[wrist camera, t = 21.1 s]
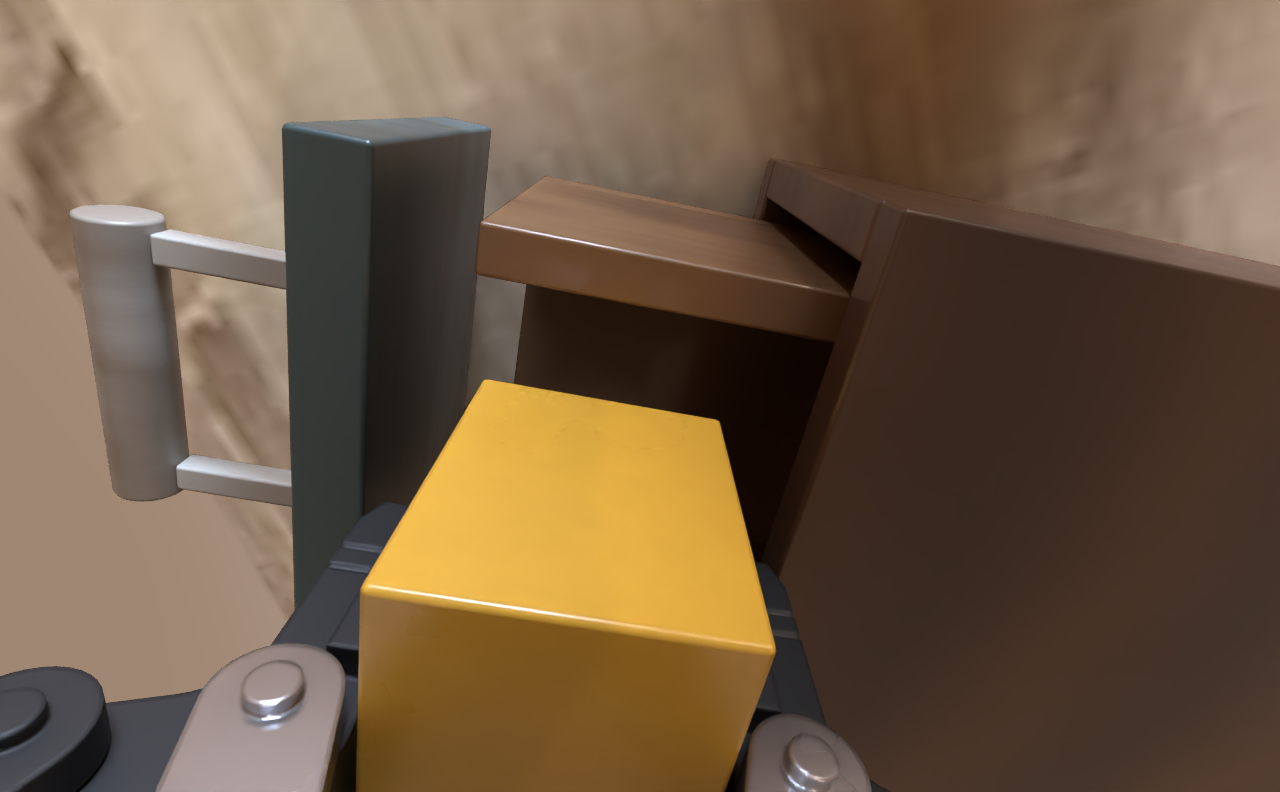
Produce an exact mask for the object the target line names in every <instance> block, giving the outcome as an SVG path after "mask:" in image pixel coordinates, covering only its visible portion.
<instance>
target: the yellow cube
mask: <svg viewBox="0 0 1280 792" xmlns="http://www.w3.org/2000/svg"><path fill="white" fill-rule="evenodd" d="M775 654H776V647H775V642H774V638H773V634H772V630H771V626H770V622H769V618H768V614H767V610H766V606H765V602H764V598H763V594H762V590H761V586H760V582H759V578H758V574H757V570H756V566H755V562H754V558H753V554H752V550H751V546H750V542H749V538H748V534H747V530H746V526H745V522H744V518H743V514H742V510H741V506H740V502H739V498H738V494H737V490H736V486H735V482H734V478H733V474H732V470H731V466H730V462H729V458H728V454H727V450H726V446H725V442H724V438H723V434H722V430H721V426H720V422H719V421H717V420H714V419H709V418H703V417H697V416H692V415H686V414H680V413H675V412H669V411H663V410H658V409H652V408H647V407H641V406H635V405H630V404H624V403H618V402H613V401H607V400H601V399H596V398H590V397H584V396H579V395H573V394H567V393H562V392H556V391H550V390H545V389H539V388H533V387H528V386H522V385H516V384H511V383H505V382H499V381H494V380H483V382H482V384H481V385H480V387H479V389H478V390H477V392H476V394H475V396H474V397H473V399H472V401H471V402H470V404H469V406H468V407H467V409H466V411H465V412H464V414H463V416H462V417H461V419H460V421H459V423H458V424H457V426H456V428H455V429H454V431H453V433H452V434H451V436H450V438H449V439H448V441H447V443H446V445H445V446H444V448H443V450H442V451H441V453H440V455H439V456H438V458H437V460H436V461H435V463H434V465H433V466H432V468H431V470H430V472H429V473H428V475H427V477H426V478H425V480H424V482H423V483H422V485H421V487H420V488H419V490H418V492H417V493H416V495H415V497H414V499H413V500H412V502H411V504H410V505H409V507H408V509H407V510H406V512H405V514H404V515H403V517H402V519H401V521H400V522H399V524H398V526H397V527H396V529H395V531H394V532H393V534H392V536H391V537H390V539H389V541H388V542H387V544H386V546H385V548H384V549H383V551H382V553H381V554H380V556H379V558H378V559H377V561H376V563H375V564H374V566H373V568H372V569H371V571H370V573H369V575H368V576H367V578H366V580H365V581H364V583H363V585H362V586H361V588H360V622H359V668H358V714H357V760H356V792H725V789H726V787H727V784H728V781H729V779H730V776H731V773H732V770H733V768H734V765H735V762H736V760H737V757H738V754H739V752H740V749H741V746H742V743H743V741H744V738H745V735H746V733H747V730H748V727H749V724H750V722H751V719H752V716H753V714H754V711H755V708H756V706H757V703H758V700H759V697H760V695H761V692H762V689H763V687H764V684H765V681H766V678H767V676H768V673H769V670H770V668H771V665H772V662H773V660H774V657H775Z"/></svg>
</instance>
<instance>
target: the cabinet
mask: <svg viewBox="0 0 1280 792" xmlns="http://www.w3.org/2000/svg"><path fill="white" fill-rule="evenodd" d="M753 219H757V220H762V221H767V222H772V223H777V224H781V225H786V226H791V227H796V228H801V229H806V230H811V231H815V232H818V233H819V234H821V235H822V236H824V237H825V238H827V239H828V240H829V241H831V242H832V243H834V244H835V245H837V246H838V247H840V248H841V249H842V250H844V251H845V252H847V253H848V254H850V255H851V256H853V257H854V258H855V259H857V260H858V261H860V262H861V263H862V264H861V267H860V270H859V273H858V276H857V279H856V282H855V285H854V288H853V291H852V293H851V296H850V299H849V302H848V305H847V308H846V311H845V314H844V317H843V320H842V323H841V326H840V329H839V332H838V335H837V338H836V341H835V344H834V347H833V350H832V353H831V355H830V358H829V361H828V364H827V367H826V370H825V373H824V376H823V379H822V382H821V385H820V388H819V391H818V394H817V397H816V400H815V403H814V406H813V409H812V412H811V415H810V417H809V420H808V423H807V426H806V429H805V432H804V435H803V438H802V441H801V444H800V447H799V450H798V453H797V456H796V459H795V462H794V465H793V468H792V471H791V474H790V477H789V480H788V482H787V485H786V488H785V491H784V494H783V497H782V500H781V503H780V506H779V509H778V512H777V515H776V518H775V521H774V524H773V527H772V530H771V533H770V536H769V539H768V542H767V544H766V547H765V550H764V553H763V556H762V559H761V562H760V563H766V564H767V565H768V566H769V567H770V569H771V570H772V571H773V572H774V574H775V575H776V576H777V577H778V579H779V580H780V581H781V582H782V584H783V585H784V586H785V587H786V591H787V594H788V597H789V601H790V604H791V607H792V611H793V618H795V621H796V624H797V627H798V631H799V634H800V635H799V640H801V641H802V644H803V647H804V651H805V654H806V657H807V661H808V664H809V667H810V670H811V674H812V677H813V680H814V684H815V687H816V690H817V694H818V697H819V700H820V704H821V707H822V710H823V714H824V717H825V720H826V724H827V726H828V727H829V728H831V729H832V730H834V731H835V732H836V733H838V734H839V735H840V736H841V737H842V738H843V739H845V740H846V741H847V743H848V744H849V745H850V746H851V747H852V748H853V749H854V751H855V752H856V753H857V755H858V756H859V758H860V759H861V761H862V763H863V765H864V766H865V768H866V771H867V774H868V776H869V779H870V780H872V781H873V782H875V783H876V784H878V785H879V786H881V787H883V788H885V789H887V790H889V791H890V792H1280V266H1276V265H1271V264H1267V263H1262V262H1257V261H1252V260H1248V259H1243V258H1238V257H1234V256H1229V255H1224V254H1220V253H1215V252H1210V251H1206V250H1201V249H1196V248H1192V247H1187V246H1182V245H1178V244H1173V243H1168V242H1164V241H1159V240H1154V239H1150V238H1145V237H1140V236H1136V235H1131V234H1126V233H1122V232H1117V231H1112V230H1108V229H1103V228H1098V227H1094V226H1089V225H1084V224H1080V223H1075V222H1070V221H1066V220H1061V219H1056V218H1052V217H1047V216H1042V215H1038V214H1033V213H1028V212H1024V211H1019V210H1014V209H1010V208H1005V207H1000V206H995V205H991V204H986V203H981V202H977V201H972V200H967V199H963V198H958V197H953V196H949V195H944V194H939V193H935V192H930V191H925V190H921V189H916V188H911V187H907V186H902V185H897V184H893V183H888V182H883V181H879V180H874V179H869V178H865V177H860V176H855V175H851V174H846V173H841V172H837V171H832V170H827V169H823V168H818V167H813V166H809V165H804V164H799V163H795V162H790V161H785V160H781V159H776V158H770V159H769V160H768V163H767V167H766V171H765V175H764V179H763V182H762V186H761V190H760V194H759V198H758V201H757V205H756V209H755V213H754V217H753Z"/></svg>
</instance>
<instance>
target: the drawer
mask: <svg viewBox="0 0 1280 792" xmlns="http://www.w3.org/2000/svg"><path fill="white" fill-rule="evenodd" d="M490 138H491V129H490V128H489V127H488V126H484V125H480V124H475V123H470V122H465V121H461V120H456V119H451V118H446V117H431V118H403V119H375V120H347V121H319V122H291V123H286V124H284V125H283V128H282V144H283V182H284V220H285V251H281V250H276V249H271V248H265V247H260V246H255V245H250V244H244V243H239V242H234V241H229V240H224V239H218V238H213V237H208V236H203V235H197V234H192V233H187V232H182V231H176V230H167V228H166V219H165V218H164V216H163V215H162V214H160V213H158V212H155V211H152V210H148V209H144V208H139V207H132V206H123V205H88V206H82V207H77V208H74V209H72V210H71V212H70V214H69V216H70V223H71V229H72V235H73V242H74V248H75V254H76V261H77V267H78V273H79V279H80V286H81V292H82V298H83V305H84V311H85V317H86V323H87V330H88V336H89V342H90V349H91V355H92V362H93V368H94V374H95V381H96V387H97V393H98V399H99V406H100V412H101V417H102V425H103V431H104V437H105V443H106V450H107V456H108V463H109V469H110V475H111V482H112V488H113V491H114V492H115V493H116V494H117V495H118V496H119V497H121V498H123V499H126V500H131V501H153V500H159V499H164V498H167V497H170V496H172V495H175V494H177V493H179V492H181V491H182V490H190V491H197V492H203V493H209V494H215V495H221V496H227V497H234V498H240V499H246V500H252V501H259V502H265V503H271V504H277V505H283V506H290V507H292V526H293V564H294V602H295V610H296V608H297V607H298V605H299V604H300V602H301V601H302V600H303V598H304V597H305V595H306V594H307V592H308V591H309V589H310V588H311V587H312V585H313V584H314V582H315V581H316V579H317V578H318V576H319V575H320V574H321V572H322V571H323V569H324V568H325V567H328V564H329V561H330V559H331V558H332V556H333V555H334V553H335V552H336V551H337V549H338V548H339V547H341V546H342V542H343V541H344V539H345V538H346V536H347V535H348V533H349V532H350V530H351V529H352V528H353V526H354V525H355V523H356V522H357V520H358V519H359V518H361V517H362V516H364V515H366V514H367V513H369V512H370V511H372V510H373V509H375V508H377V507H378V506H380V505H381V504H383V503H384V502H391V503H397V504H403V505H409V504H410V502H411V501H412V499H413V497H414V496H415V494H416V492H417V491H418V489H419V487H420V486H421V484H422V482H423V481H424V479H425V478H426V477H427V475H428V473H429V472H430V470H431V468H432V466H433V465H434V463H435V461H436V460H437V458H438V456H439V455H440V453H441V451H442V450H443V448H444V446H445V445H446V443H447V441H448V439H449V438H450V436H451V434H452V433H453V431H454V429H455V428H456V426H457V424H458V423H459V421H460V419H461V417H462V416H463V414H464V409H465V398H466V388H467V377H468V367H469V356H470V346H471V336H472V325H473V315H474V304H475V294H476V284H477V274H478V275H481V276H486V277H491V278H497V279H502V280H507V281H512V282H517V283H523V284H527V285H526V293H525V301H524V308H523V316H522V324H521V332H520V340H519V347H518V355H517V363H516V371H515V379H514V384H516V385H522V386H528V387H533V388H539V389H545V390H550V391H556V392H562V393H567V394H573V395H579V396H584V397H590V398H596V399H601V400H607V401H613V402H618V403H624V404H630V405H635V406H641V407H647V408H652V409H658V410H663V411H669V412H675V413H680V414H686V415H692V416H697V417H703V418H709V419H714V420H717V421H719V422H720V426H721V430H722V434H723V438H724V442H725V446H726V450H727V454H728V458H729V462H730V466H731V470H732V474H733V478H734V482H735V486H736V490H737V494H738V498H739V502H740V506H741V510H742V514H743V518H744V522H745V526H746V530H747V534H748V538H749V542H750V546H751V550H752V554H753V558H754V562H761V559H762V556H763V553H764V550H765V547H766V544H767V542H768V539H769V536H770V533H771V530H772V527H773V524H774V521H775V518H776V515H777V512H778V509H779V506H780V503H781V500H782V497H783V494H784V491H785V488H786V485H787V482H788V480H789V477H790V474H791V471H792V468H793V465H794V462H795V459H796V456H797V453H798V450H799V447H800V444H801V441H802V438H803V435H804V432H805V429H806V426H807V423H808V420H809V417H810V415H811V412H812V409H813V406H814V403H815V400H816V397H817V394H818V391H819V388H820V385H821V382H822V379H823V376H824V373H825V370H826V367H827V364H828V361H829V358H830V355H831V353H832V350H833V347H834V344H835V341H836V338H837V335H838V332H839V329H840V326H841V323H842V320H843V317H844V314H845V311H846V308H847V305H848V302H849V299H850V296H851V293H852V291H853V288H854V285H855V282H856V279H857V276H858V273H859V270H860V267H861V264H862V263H861V262H860V261H858V260H857V259H855V258H854V257H853V256H851V255H850V254H848V253H847V252H845V251H844V250H842V249H841V248H840V247H838V246H837V245H835V244H834V243H832V242H831V241H829V240H828V239H827V238H825V237H824V236H822V235H821V234H819V233H818V232H815V231H811V230H806V229H801V228H796V227H791V226H786V225H781V224H777V223H772V222H767V221H762V220H757V219H752V218H747V217H743V216H738V215H733V214H728V213H723V212H718V211H714V210H709V209H704V208H699V207H694V206H689V205H684V204H680V203H675V202H670V201H665V200H660V199H655V198H650V197H646V196H641V195H636V194H631V193H626V192H621V191H616V190H612V189H607V188H602V187H597V186H592V185H587V184H582V183H578V182H573V181H568V180H563V179H558V178H553V177H548V176H545V177H543V178H542V179H541V180H540V181H538V182H537V183H535V184H534V185H533V186H531V187H530V188H528V189H527V190H525V191H524V192H523V193H521V194H520V195H518V196H517V197H515V198H514V199H512V200H511V201H510V202H508V203H507V204H505V205H504V206H502V207H501V208H499V209H498V210H497V211H495V212H494V213H492V214H491V215H489V216H488V217H487V218H485V219H484V220H483V211H484V200H485V190H486V179H487V169H488V158H489V148H490ZM170 268H173V269H178V270H184V271H189V272H194V273H200V274H205V275H210V276H216V277H221V278H226V279H232V280H237V281H243V282H248V283H253V284H259V285H264V286H269V287H275V288H280V289H285V290H286V296H287V335H288V373H289V411H290V449H291V470H285V469H279V468H273V467H267V466H261V465H255V464H249V463H243V462H236V461H230V460H224V459H218V458H212V457H206V456H200V455H190V456H189V450H188V440H187V430H186V420H185V409H184V399H183V389H182V379H181V369H180V359H179V349H178V339H177V329H176V319H175V309H174V299H173V289H172V279H171V269H170Z"/></svg>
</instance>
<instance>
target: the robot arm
mask: <svg viewBox="0 0 1280 792" xmlns="http://www.w3.org/2000/svg"><path fill="white" fill-rule="evenodd" d="M424 480H425V479H424ZM423 482H424V481H423ZM423 482H422V483H423ZM421 485H422V484H421ZM420 487H421V486H420ZM420 487H419V488H420ZM418 490H419V489H418ZM417 492H418V491H417ZM417 492H416V493H417ZM415 495H416V494H415ZM414 497H415V496H414ZM414 497H413V499H414ZM413 499H412V500H413ZM411 502H412V501H411ZM411 502H410V504H411ZM410 504H409V505H410ZM409 505H403V504H397V503H391V502H384V503H383V504H381V505H380V506H378V507H377V508H375V509H373V510H372V511H370V512H369V513H367V514H366V515H364V516H362V517H361V518H359V519H358V520H357V522H356V523H355V525H354V526H353V528H352V529H351V530H350V532H349V533H348V535H347V536H346V538H345V539H344V541H343V542H342V546H341V547H339V548H338V549H337V551H336V552H335V553H334V555H333V556H332V558H331V559H330V561H329V564H328V567H325V568H324V569H323V571H322V572H321V574H320V575H319V576H318V578H317V579H316V581H315V582H314V584H313V585H312V587H311V588H310V589H309V591H308V592H307V594H306V595H305V597H304V598H303V600H302V601H301V602H300V604H299V605H298V607H297V608H296V610H295V611H294V612H293V614H292V615H291V617H290V618H289V620H288V621H287V623H286V624H285V626H284V627H283V628H282V630H281V631H280V633H279V634H278V636H277V637H276V638H275V640H274V641H273V643H272V644H271V645H270V646H266V647H263V648H260V649H256V650H254V651H251V652H249V653H246V654H244V655H242V656H240V657H238V658H237V659H235V660H233V661H231V662H230V663H229V664H227V665H226V666H224V667H223V668H221V669H220V670H219V671H218V672H217V673H216V674H215V675H214V676H213V677H212V678H211V679H210V680H209V681H208V682H207V684H206V685H205V686H204V688H202V689H198V690H195V691H192V692H186V693H180V694H175V695H166V696H158V697H150V698H142V699H134V700H127V701H119V702H111V703H105V698H104V693H103V689H102V686H101V685H100V683H99V682H98V681H97V679H95V678H94V677H92V675H90V674H88V673H86V672H84V671H82V670H78V669H74V668H70V667H57V666H55V667H39V668H32V669H26V670H22V671H18V672H13V673H9V674H6V675H4V676H0V792H356V760H357V714H358V668H359V622H360V588H361V586H362V585H363V583H364V581H365V580H366V578H367V576H368V575H369V573H370V571H371V569H372V568H373V566H374V564H375V563H376V561H377V559H378V558H379V556H380V554H381V553H382V551H383V549H384V548H385V546H386V544H387V542H388V541H389V539H390V537H391V536H392V534H393V532H394V531H395V529H396V527H397V526H398V524H399V522H400V521H401V519H402V517H403V515H404V514H405V512H406V510H407V509H408V507H409ZM755 566H756V570H757V574H758V578H759V582H760V586H761V590H762V594H763V598H764V602H765V606H766V610H767V614H768V618H769V622H770V626H771V630H772V634H773V638H774V642H775V647H776V654H775V657H774V660H773V662H772V665H771V668H770V670H769V673H768V676H767V678H766V681H765V684H764V687H763V689H762V692H761V695H760V697H759V700H758V703H757V706H756V708H755V711H754V714H753V716H752V719H751V722H750V724H749V727H748V730H747V733H746V735H745V738H744V741H743V743H742V746H741V749H740V752H739V754H738V757H737V760H736V762H735V765H734V768H733V770H732V773H731V776H730V779H729V781H728V784H727V787H726V789H725V792H890V791H889V790H887V789H885V788H883V787H881V786H879V785H878V784H876V783H875V782H873V781H872V780H870V779H869V776H868V774H867V771H866V768H865V766H864V765H863V763H862V761H861V759H860V758H859V756H858V755H857V753H856V752H855V751H854V749H853V748H852V747H851V746H850V745H849V744H848V743H847V741H846V740H845V739H843V738H842V737H841V736H840V735H839V734H838V733H836V732H835V731H834V730H832V729H831V728H829V727H828V726H827V724H826V720H825V717H824V714H823V710H822V707H821V704H820V700H819V697H818V694H817V690H816V687H815V684H814V680H813V677H812V674H811V670H810V667H809V664H808V661H807V657H806V654H805V651H804V647H803V644H802V641H801V640H799V635H800V634H799V631H798V627H797V624H796V621H795V618H793V611H792V607H791V604H790V601H789V597H788V594H787V591H786V587H785V586H784V585H783V584H782V582H781V581H780V580H779V579H778V577H777V576H776V575H775V574H774V572H773V571H772V570H771V569H770V567H769V566H768V565H767V564H766V563H760V562H755Z"/></svg>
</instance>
